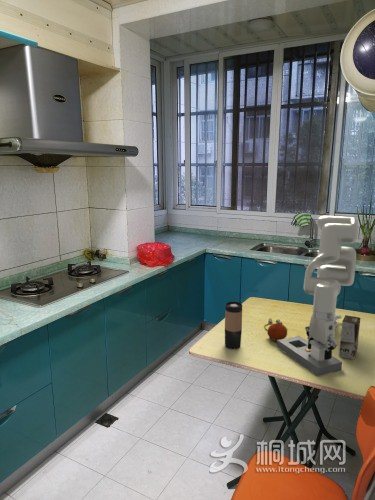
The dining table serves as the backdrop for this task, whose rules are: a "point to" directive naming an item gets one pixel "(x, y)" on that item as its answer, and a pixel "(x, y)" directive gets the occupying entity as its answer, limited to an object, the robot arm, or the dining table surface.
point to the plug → (317, 350)
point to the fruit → (277, 331)
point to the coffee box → (349, 337)
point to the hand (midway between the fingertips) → (319, 353)
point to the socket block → (307, 356)
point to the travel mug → (233, 325)
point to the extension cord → (276, 321)
